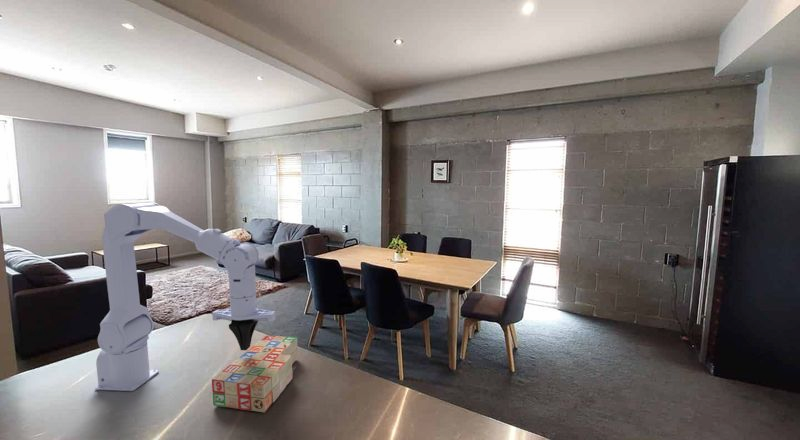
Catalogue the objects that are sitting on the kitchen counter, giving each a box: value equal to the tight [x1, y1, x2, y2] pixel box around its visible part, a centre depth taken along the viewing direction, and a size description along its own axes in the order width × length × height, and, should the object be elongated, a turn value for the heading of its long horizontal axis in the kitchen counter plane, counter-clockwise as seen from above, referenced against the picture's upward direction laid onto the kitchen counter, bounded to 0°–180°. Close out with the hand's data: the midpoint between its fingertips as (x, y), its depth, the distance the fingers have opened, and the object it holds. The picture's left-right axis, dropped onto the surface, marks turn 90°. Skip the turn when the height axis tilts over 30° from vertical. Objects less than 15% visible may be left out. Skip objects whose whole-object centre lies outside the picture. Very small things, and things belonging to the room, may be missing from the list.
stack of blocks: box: [211, 335, 299, 413], centre depth 79 cm, size 21×6×12 cm
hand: (245, 348), depth 79 cm, fingers closed
